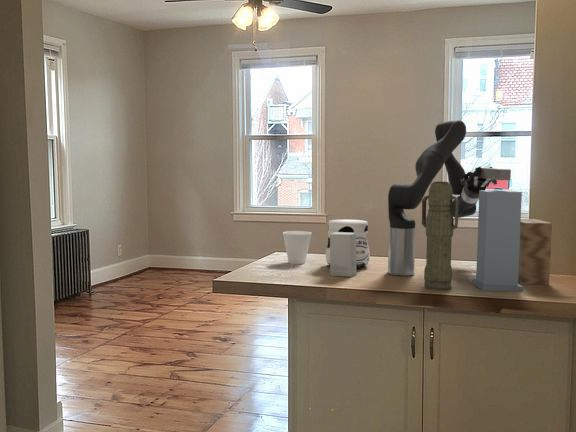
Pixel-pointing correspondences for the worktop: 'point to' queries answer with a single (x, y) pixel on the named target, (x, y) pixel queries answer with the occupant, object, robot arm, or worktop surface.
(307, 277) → the worktop surface
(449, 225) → the thermos
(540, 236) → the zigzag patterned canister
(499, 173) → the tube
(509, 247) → the gray pedestal
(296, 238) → the cup
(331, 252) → the skincare box
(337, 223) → the milk container
